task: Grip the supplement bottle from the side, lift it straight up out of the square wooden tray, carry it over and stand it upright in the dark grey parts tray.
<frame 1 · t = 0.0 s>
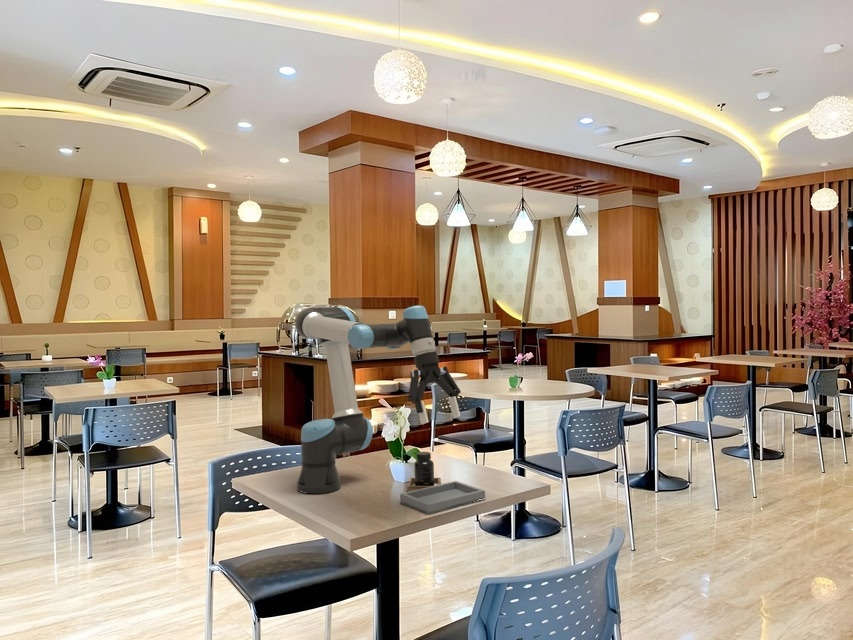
hand: (441, 420, 190), 28 cm above the table, tool tilted 20°, fingers open, 13 cm apart
parts tray: (443, 501, 200), on the table
square wooden tray: (424, 487, 216), on the table
supplement bottle: (424, 487, 216), resting in square wooden tray
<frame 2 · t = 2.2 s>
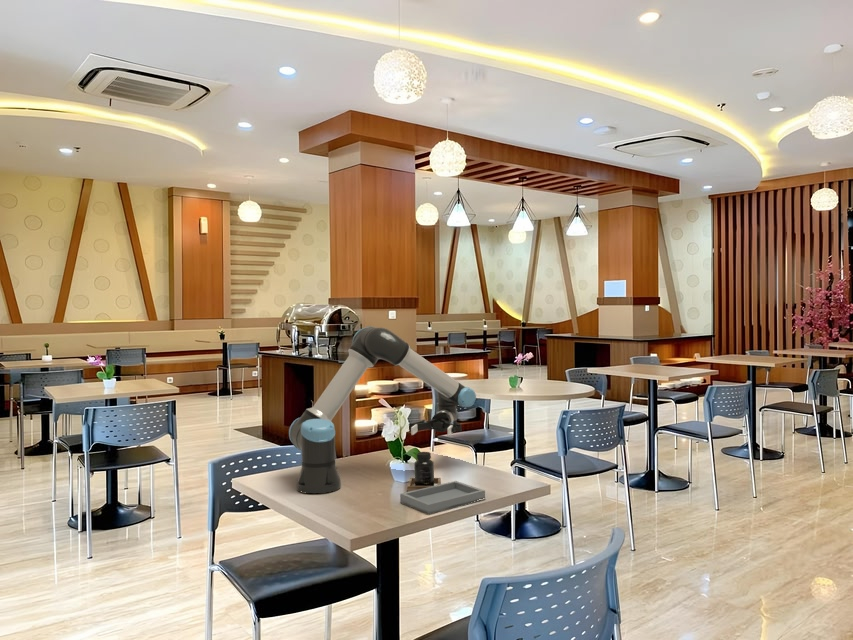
hand: (430, 431, 225), 18 cm above the table, tool horizontal, fingers open, 13 cm apart
nothing on the table moved.
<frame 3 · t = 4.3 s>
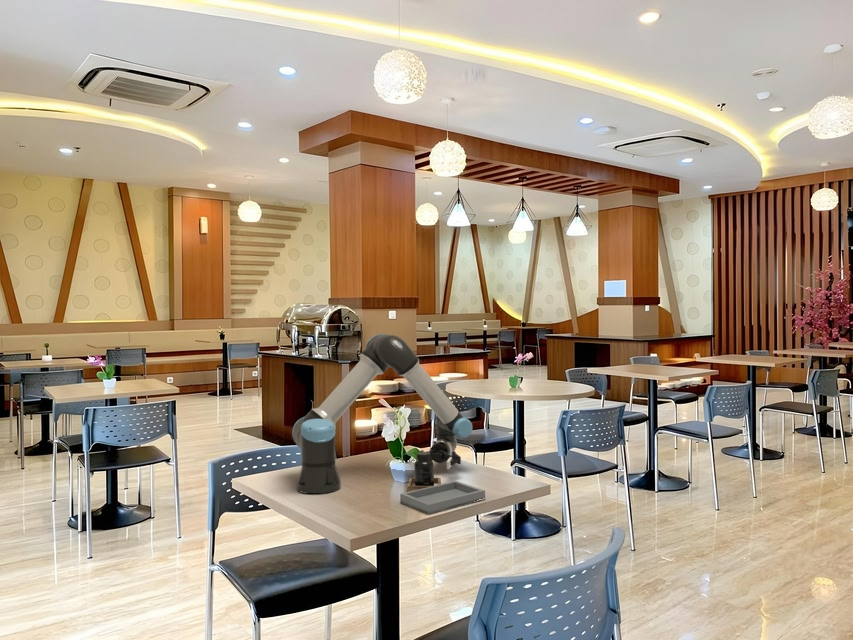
hand: (428, 464, 220), 7 cm above the table, tool horizontal, fingers open, 13 cm apart
nothing on the table moved.
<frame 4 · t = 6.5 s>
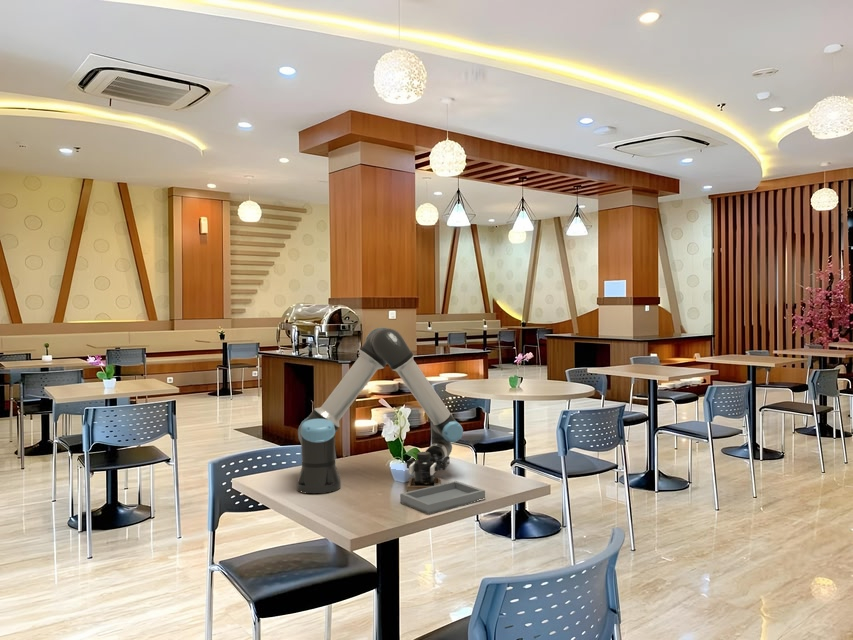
hand: (420, 470, 211), 7 cm above the table, tool horizontal, fingers closed on supplement bottle, 7 cm apart
supplement bottle: (424, 487, 216), resting in square wooden tray, touching gripper
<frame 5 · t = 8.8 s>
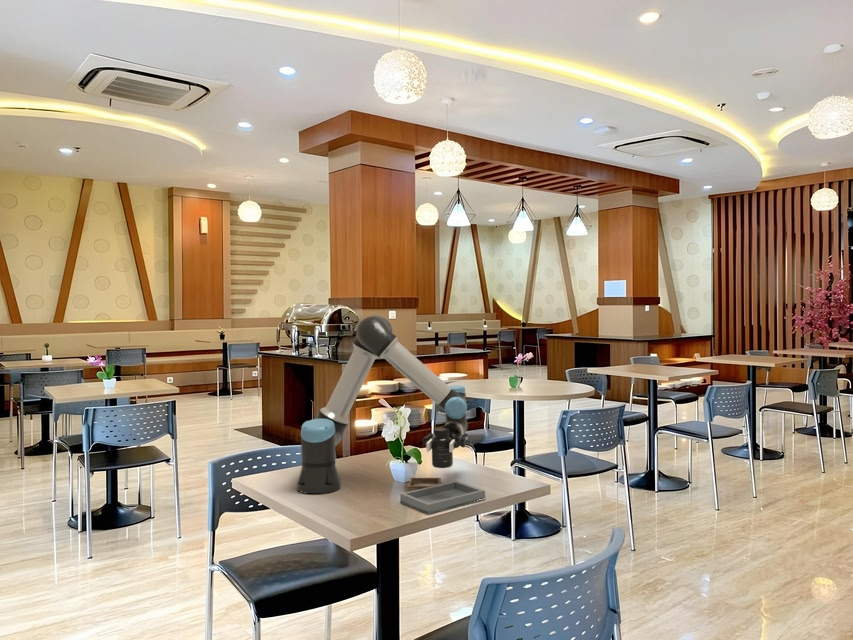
hand: (439, 447, 197), 18 cm above the table, tool horizontal, fingers closed on supplement bottle, 7 cm apart
supplement bottle: (442, 466, 202), point 11 cm above the table, touching gripper
when the fingers open (9 cm above the table, at t = 11.0 s): supplement bottle drops 1 cm, resting on parts tray.
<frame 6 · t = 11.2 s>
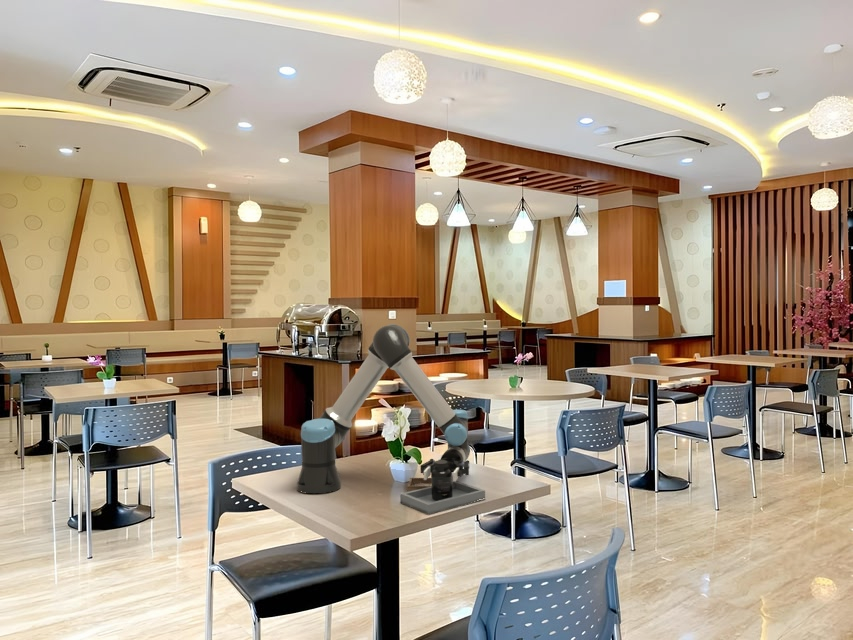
hand: (439, 476, 195), 9 cm above the table, tool horizontal, fingers open, 9 cm apart
supplement bottle: (442, 499, 200), point 1 cm above the table, touching parts tray
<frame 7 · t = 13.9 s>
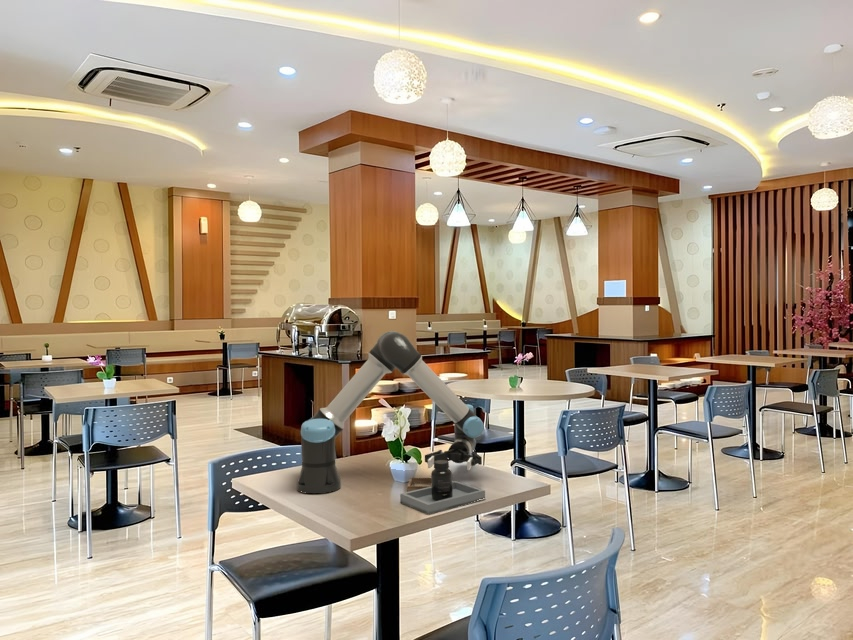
hand: (448, 465, 209), 9 cm above the table, tool horizontal, fingers open, 13 cm apart
nothing on the table moved.
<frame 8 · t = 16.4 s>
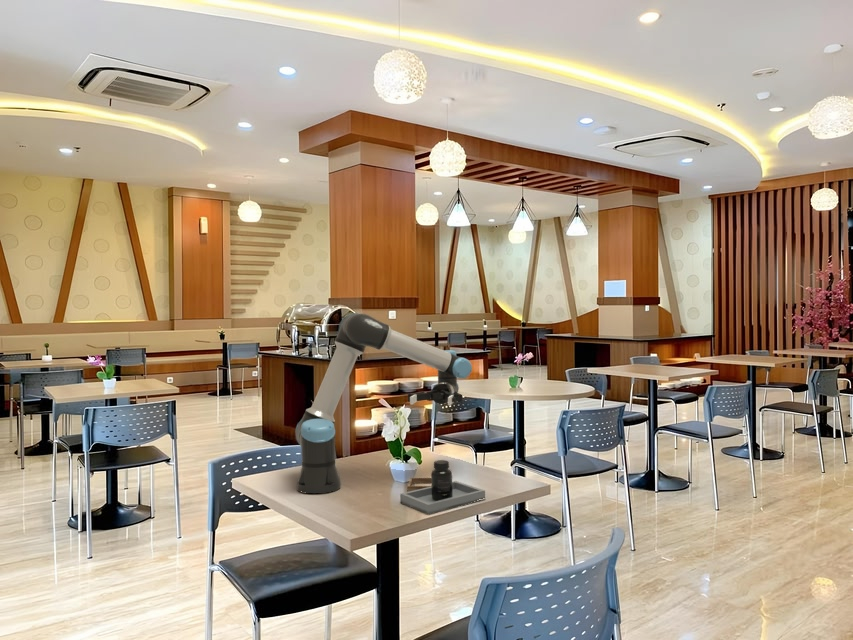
hand: (429, 401, 216), 30 cm above the table, tool horizontal, fingers open, 13 cm apart
nothing on the table moved.
at the end: supplement bottle inside the target area on the parts tray (0.3 cm from its centre), point 0.6 cm above the parts tray's base; supplement bottle tilted 0°; the gripper is holding nothing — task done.
